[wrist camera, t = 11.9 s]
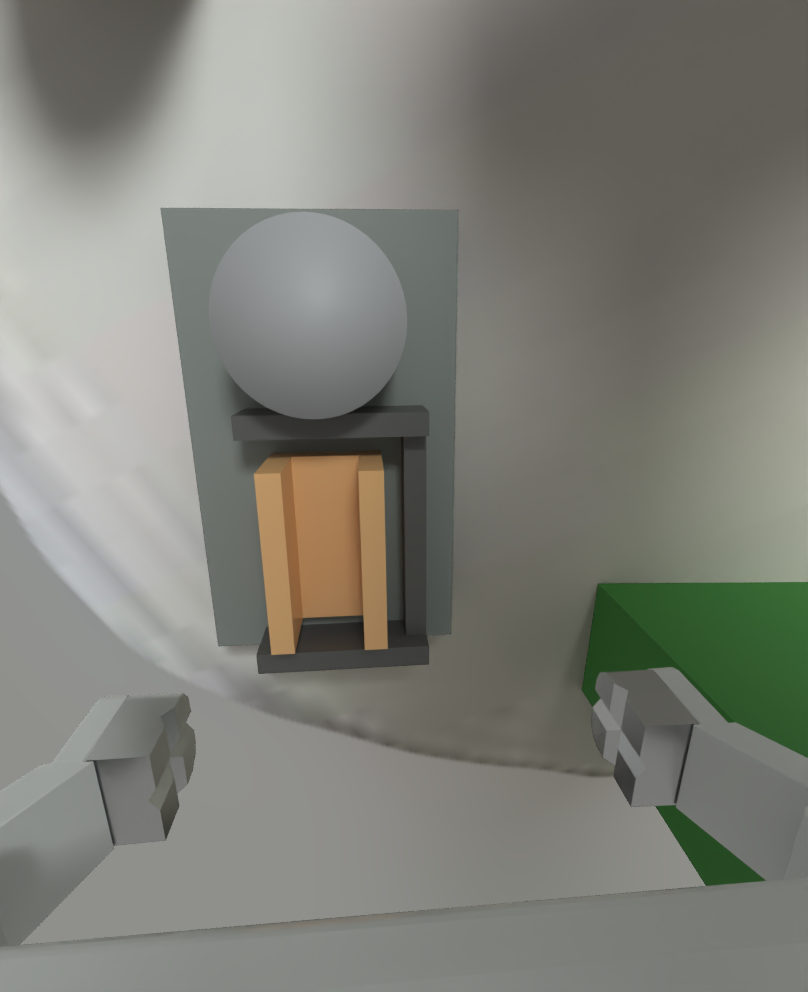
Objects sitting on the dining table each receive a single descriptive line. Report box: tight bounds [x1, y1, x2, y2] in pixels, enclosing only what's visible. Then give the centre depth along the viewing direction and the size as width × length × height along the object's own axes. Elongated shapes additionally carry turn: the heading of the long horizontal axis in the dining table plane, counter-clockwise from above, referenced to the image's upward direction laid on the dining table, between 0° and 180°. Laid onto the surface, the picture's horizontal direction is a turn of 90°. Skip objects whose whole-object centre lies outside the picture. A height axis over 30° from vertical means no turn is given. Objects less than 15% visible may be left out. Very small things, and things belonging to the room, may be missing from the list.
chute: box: [254, 450, 388, 655], centre depth 23 cm, size 8×5×4 cm, turn 1°
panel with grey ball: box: [161, 208, 458, 674], centre depth 23 cm, size 20×12×7 cm, turn 1°
